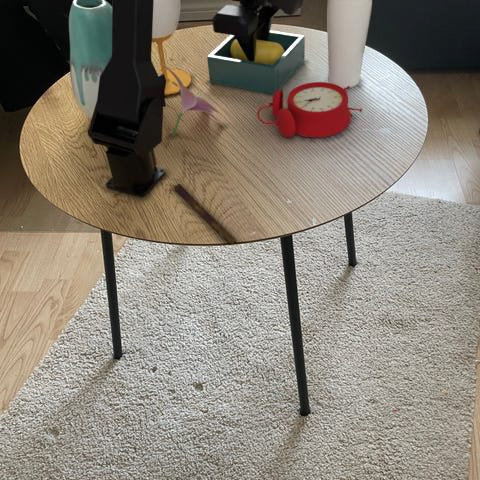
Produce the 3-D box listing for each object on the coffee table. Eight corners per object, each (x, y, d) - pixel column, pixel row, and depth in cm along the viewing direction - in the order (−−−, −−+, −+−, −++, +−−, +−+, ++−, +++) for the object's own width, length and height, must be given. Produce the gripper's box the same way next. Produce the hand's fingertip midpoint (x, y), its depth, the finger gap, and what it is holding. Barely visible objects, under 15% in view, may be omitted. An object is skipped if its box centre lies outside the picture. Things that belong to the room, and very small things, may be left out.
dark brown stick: (179, 186, 85) (173, 188, 84) (179, 183, 84) (173, 186, 84) (236, 242, 76) (230, 245, 76) (236, 239, 76) (229, 243, 75)
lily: (222, 156, 91) (241, 92, 86) (146, 135, 87) (161, 67, 83) (213, 137, 101) (229, 79, 97) (144, 118, 98) (158, 57, 93)
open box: (275, 95, 100) (274, 68, 96) (209, 82, 104) (206, 56, 100) (304, 61, 107) (304, 35, 103) (241, 51, 111) (240, 25, 108)
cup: (202, 80, 104) (190, -20, 92) (163, 101, 100) (146, 0, 88) (168, 65, 109) (152, -32, 97) (129, 85, 105) (108, -13, 93)
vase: (165, 106, 99) (145, -9, 85) (118, 141, 93) (89, 22, 79) (113, 90, 104) (87, -22, 90) (66, 122, 98) (30, 7, 84)
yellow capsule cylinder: (279, 73, 101) (278, 50, 98) (227, 64, 105) (225, 41, 102) (288, 63, 104) (288, 40, 101) (237, 54, 107) (236, 32, 104)
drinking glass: (316, 79, 102) (319, -15, 91) (350, 69, 104) (357, -25, 93) (336, 96, 98) (343, -1, 87) (371, 85, 100) (382, -11, 88)
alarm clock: (368, 110, 88) (270, 103, 84) (355, 148, 92) (262, 142, 89) (349, 77, 94) (257, 69, 91) (338, 114, 99) (250, 107, 96)
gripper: (275, -18, 83) (277, 88, 95) (324, -61, 94) (320, 39, 106) (206, -26, 87) (216, 77, 99) (260, -67, 98) (263, 30, 109)
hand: (256, 55), depth 103 cm, fingers closed on yellow capsule cylinder, 4 cm apart
